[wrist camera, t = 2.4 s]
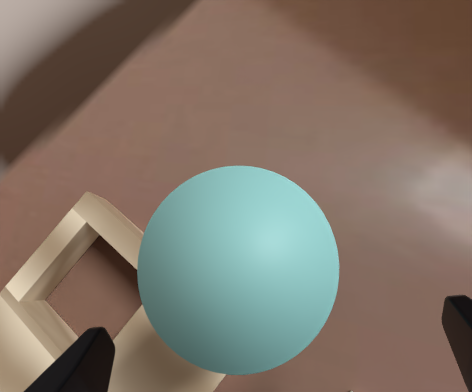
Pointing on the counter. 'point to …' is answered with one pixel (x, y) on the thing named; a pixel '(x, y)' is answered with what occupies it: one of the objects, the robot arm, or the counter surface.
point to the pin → (238, 270)
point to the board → (59, 333)
